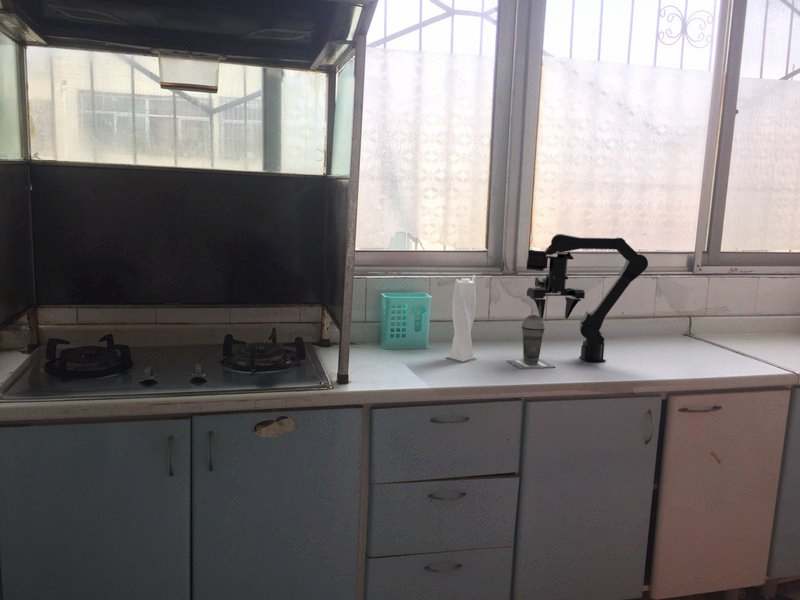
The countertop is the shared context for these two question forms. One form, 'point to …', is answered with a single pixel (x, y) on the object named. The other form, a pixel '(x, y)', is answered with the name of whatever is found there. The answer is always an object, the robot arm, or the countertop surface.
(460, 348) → the skyscraper
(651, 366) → the countertop surface
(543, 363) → the letter card
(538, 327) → the beverage cup
